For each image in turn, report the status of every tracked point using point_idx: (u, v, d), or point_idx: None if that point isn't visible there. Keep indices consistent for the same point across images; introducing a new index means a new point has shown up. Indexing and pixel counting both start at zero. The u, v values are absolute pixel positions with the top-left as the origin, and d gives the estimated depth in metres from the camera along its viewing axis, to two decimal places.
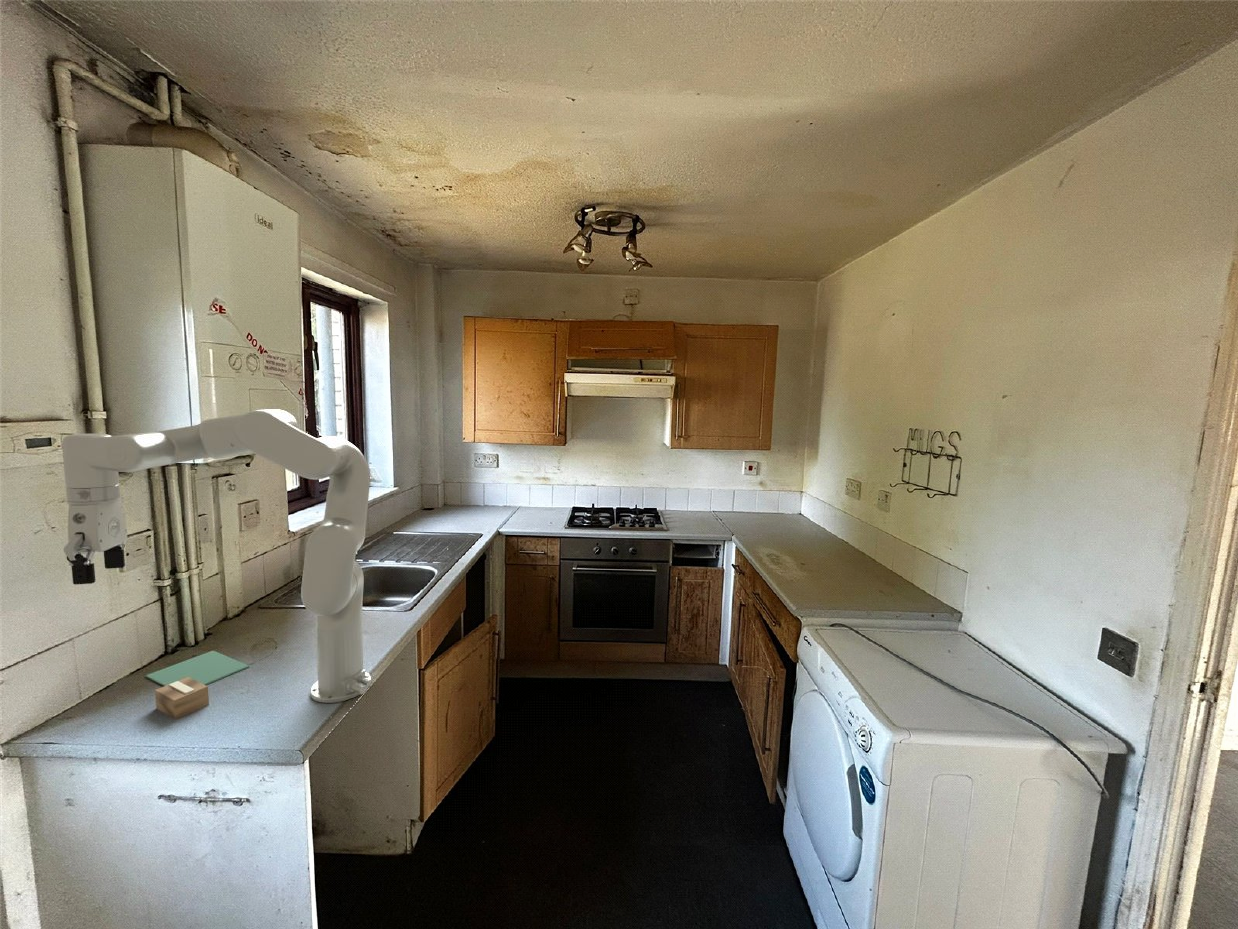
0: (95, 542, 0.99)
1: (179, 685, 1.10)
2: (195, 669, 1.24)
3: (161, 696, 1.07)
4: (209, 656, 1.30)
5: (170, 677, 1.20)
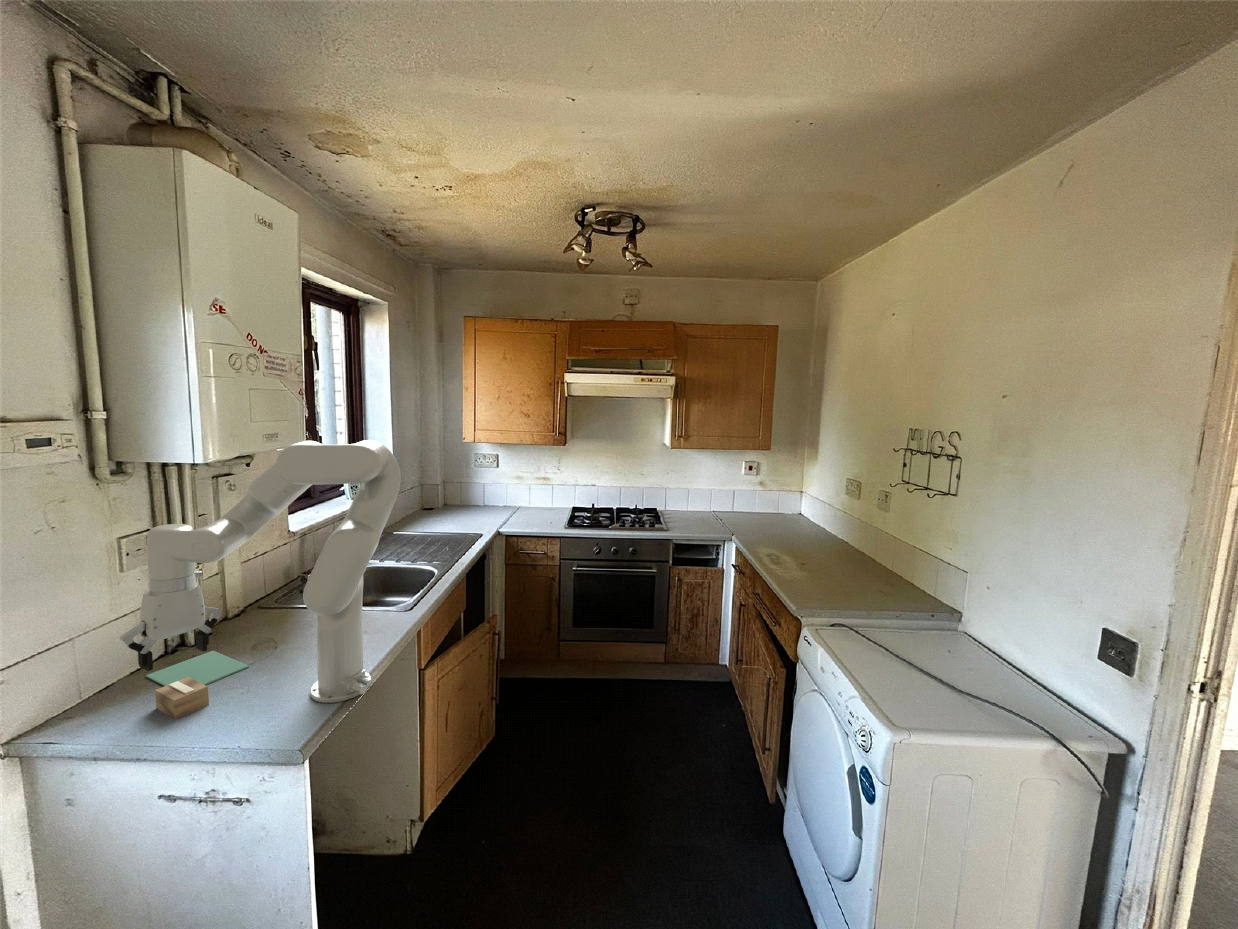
0: None
1: (179, 685, 1.10)
2: (195, 669, 1.24)
3: (160, 696, 1.07)
4: (209, 656, 1.30)
5: (170, 677, 1.20)
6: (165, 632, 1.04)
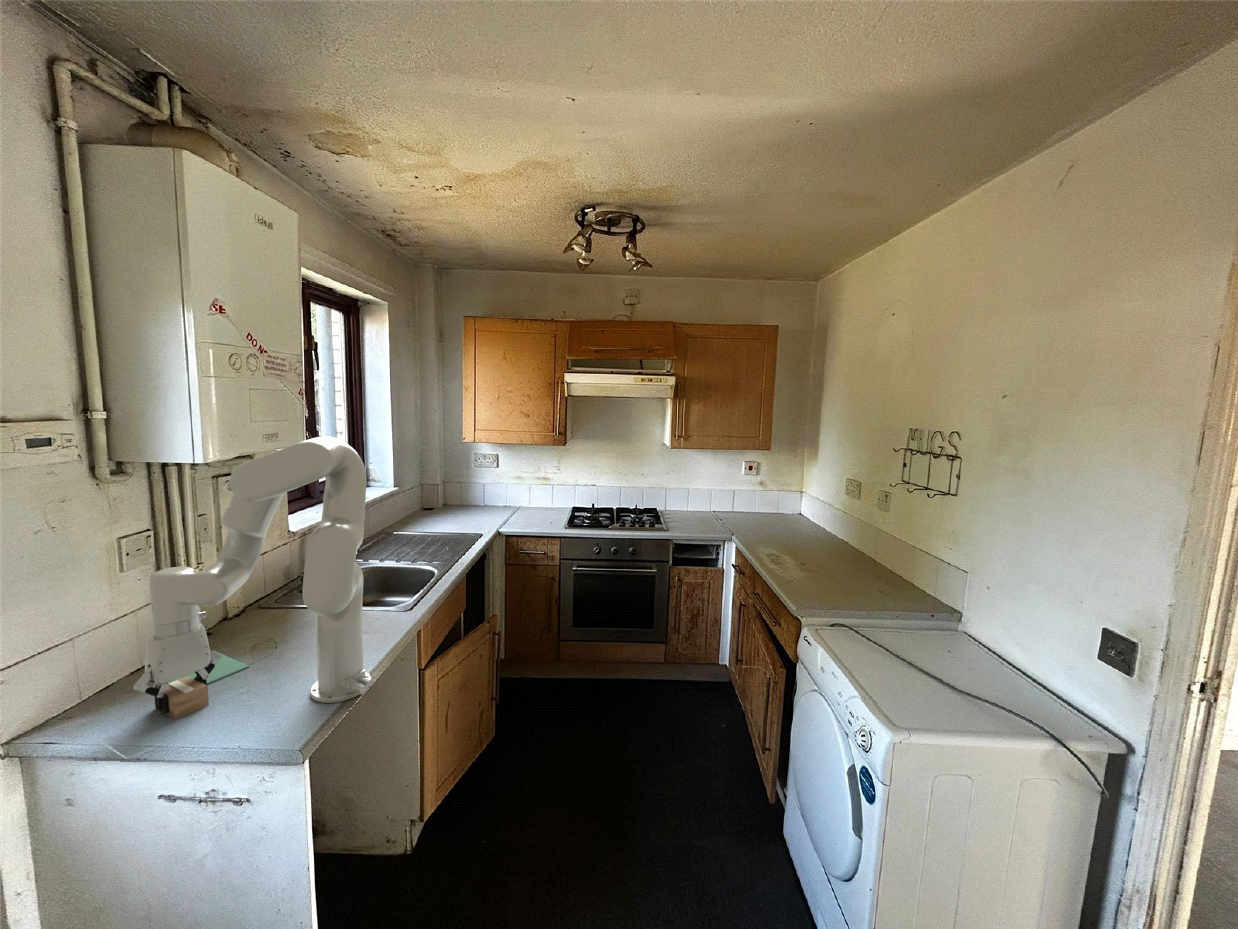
0: None
1: (178, 685, 1.10)
2: None
3: None
4: None
5: None
6: (171, 675, 1.06)
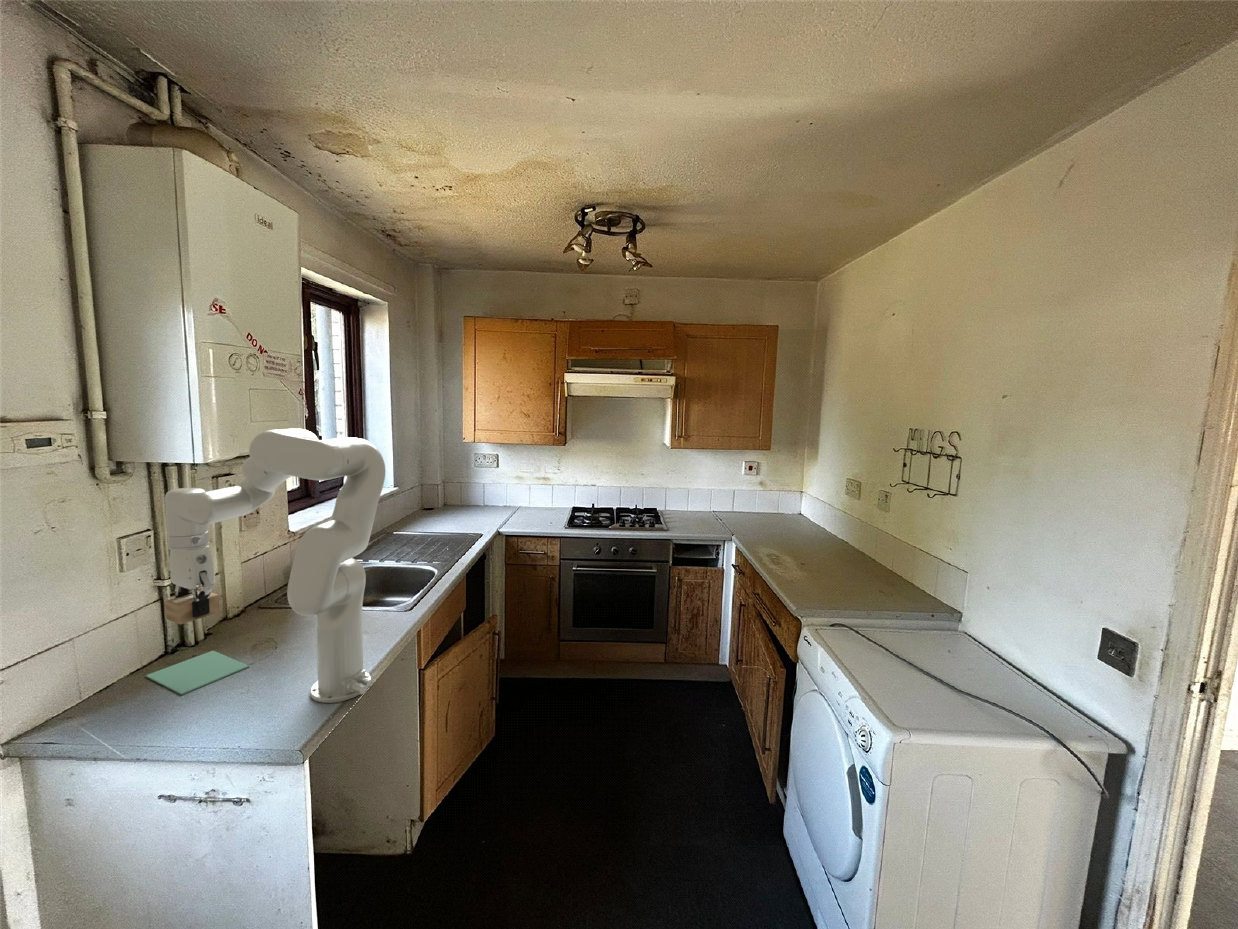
0: (214, 576, 1.20)
1: None
2: (195, 669, 1.24)
3: None
4: (209, 656, 1.30)
5: (170, 677, 1.20)
6: (174, 579, 1.19)
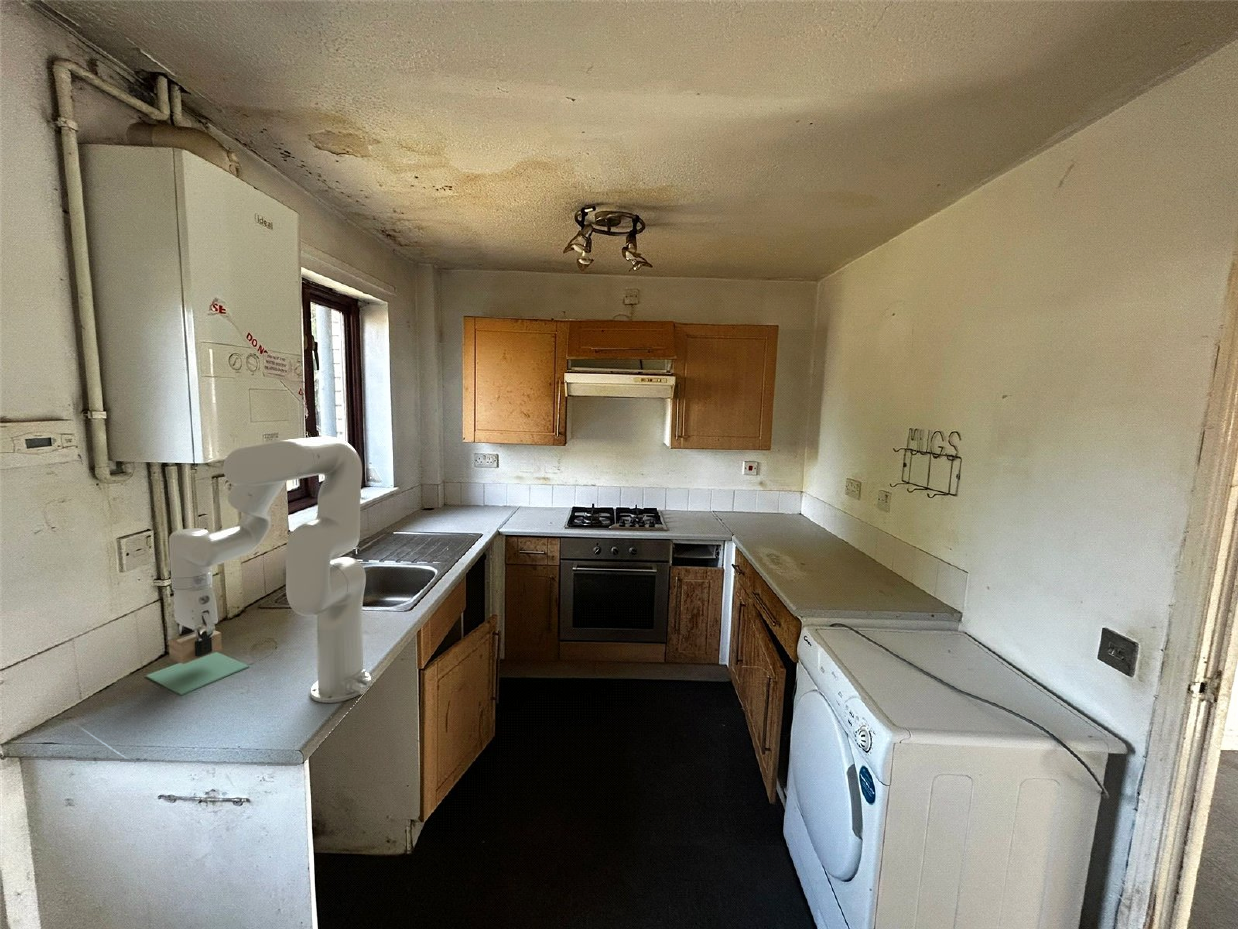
0: (216, 616, 1.22)
1: None
2: (195, 669, 1.24)
3: None
4: (209, 656, 1.30)
5: (170, 677, 1.20)
6: (178, 619, 1.21)
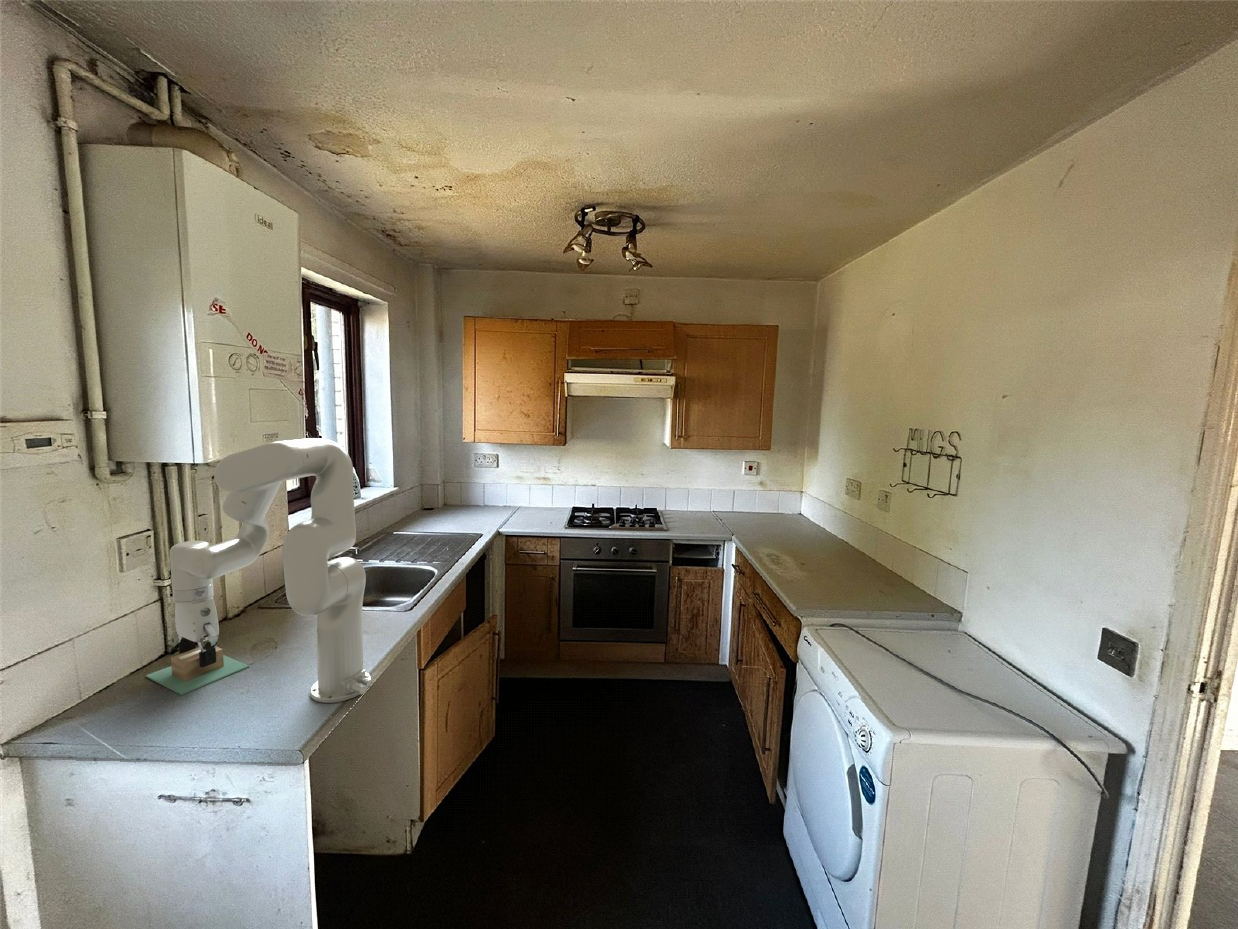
0: (217, 628, 1.22)
1: None
2: None
3: None
4: None
5: (170, 677, 1.20)
6: (179, 631, 1.21)
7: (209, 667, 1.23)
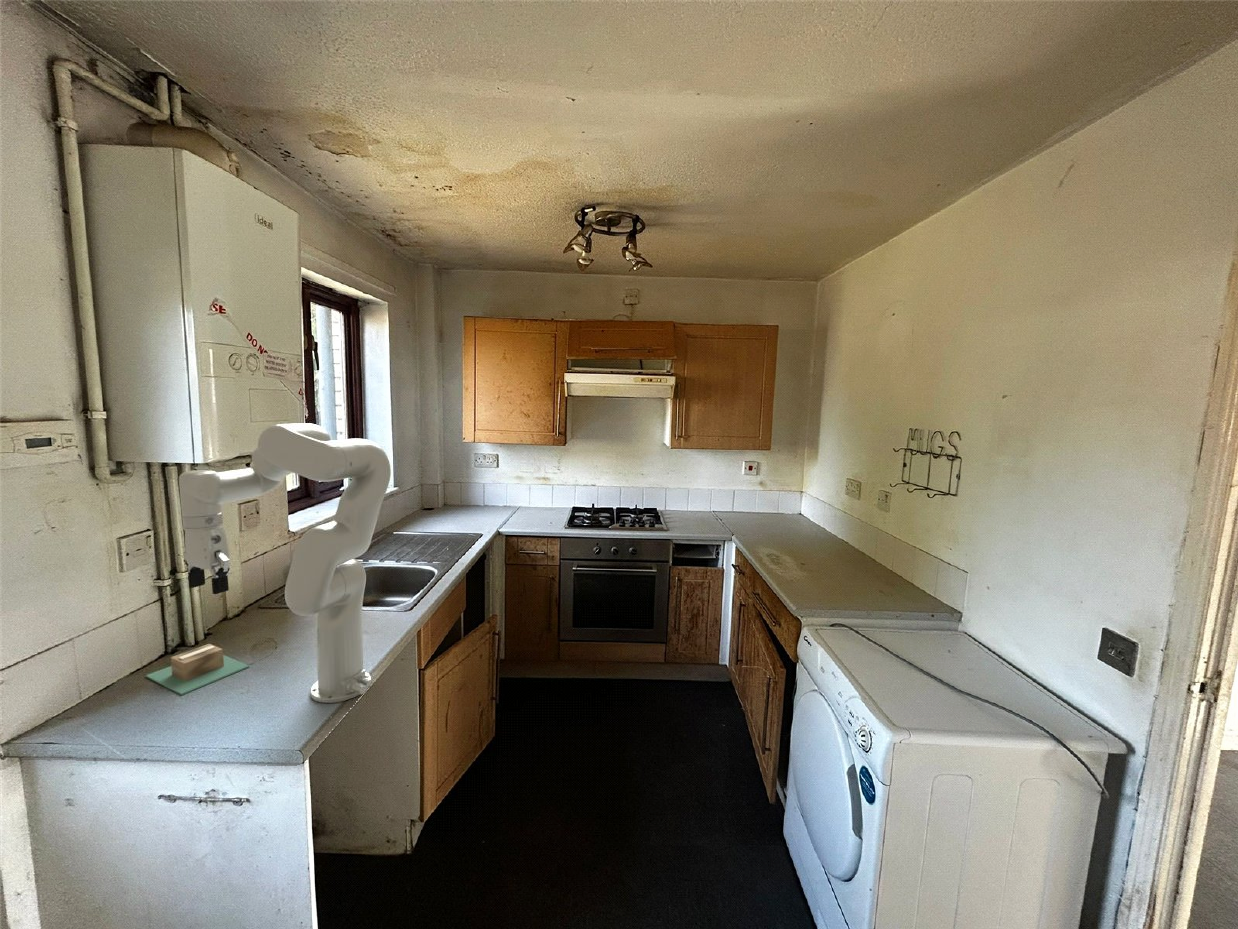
0: (228, 556, 1.22)
1: (201, 650, 1.23)
2: None
3: None
4: None
5: (170, 677, 1.20)
6: (190, 560, 1.21)
7: (209, 667, 1.23)
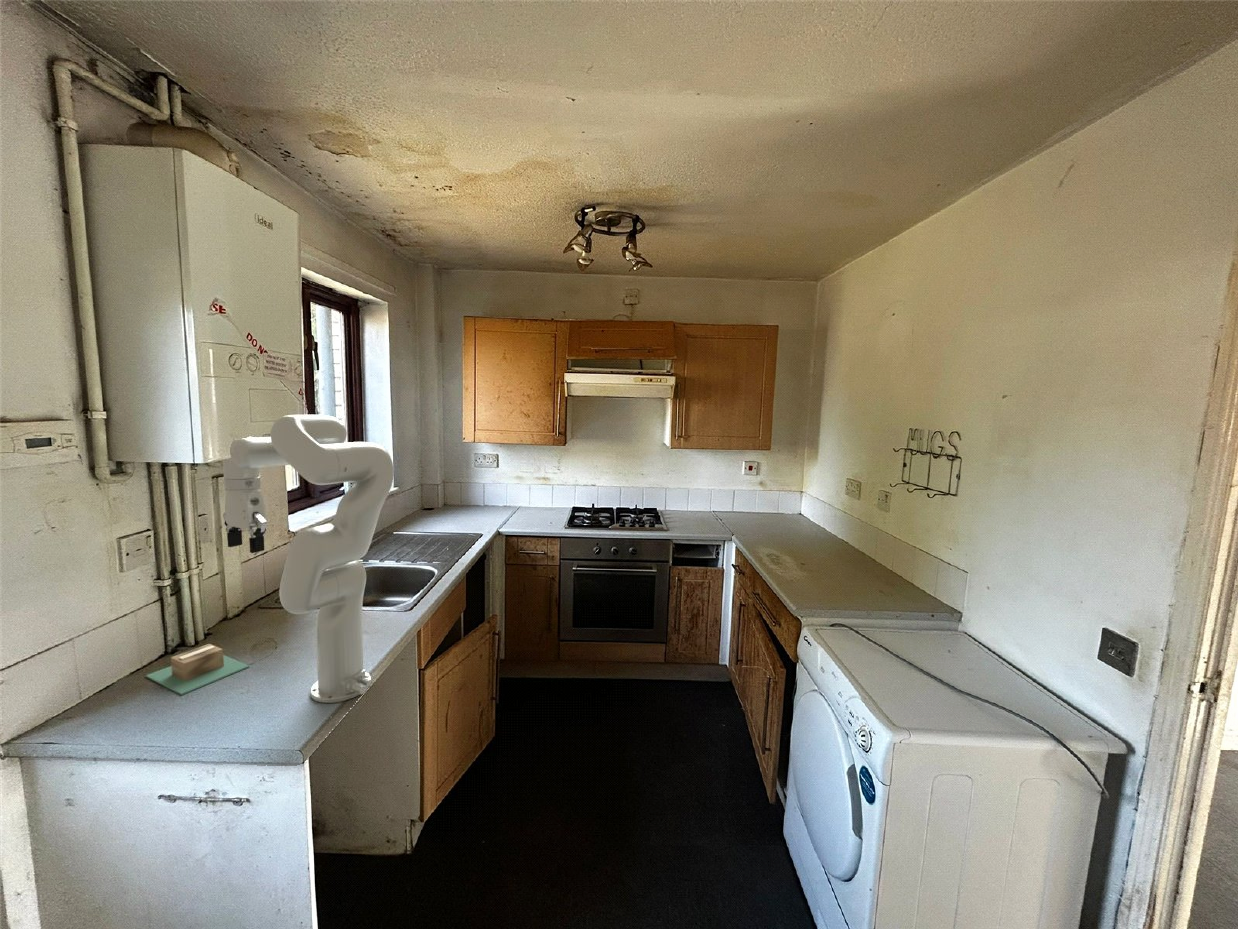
0: (265, 518, 1.30)
1: (201, 650, 1.23)
2: None
3: None
4: None
5: (170, 677, 1.20)
6: (229, 521, 1.29)
7: (209, 667, 1.23)
